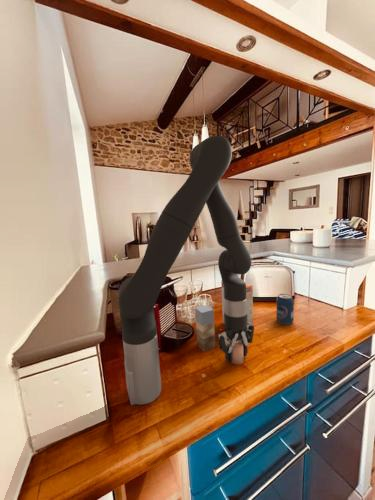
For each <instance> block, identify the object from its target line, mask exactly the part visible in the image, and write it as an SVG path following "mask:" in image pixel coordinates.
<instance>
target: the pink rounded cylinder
mask: <svg viewBox="0 0 375 500" xmlns="http://www.w3.org/2000/svg"><path fill="white" fill-rule="evenodd" d="M231 352H232V362H231V363H232V364H234V365H241V364H243V363H245V362H244V361H245V360H244V352H243V344H242V343H241V341H240V340H238V341H236V342H235V345H234V346H233V348H232V351H231Z"/></svg>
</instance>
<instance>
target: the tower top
mask: <svg viewBox="0 0 375 500" xmlns="http://www.w3.org/2000/svg"><path fill="white" fill-rule="evenodd" d="M194 310H195V322H196V321H197V322H198V323H199V324H201V325H202V326H204V325H208V324H211V323H214V324H215V312H214V311H215V309H214V308H213V307H211V306H209V305H208V304H205V305H201V306H197V307H195V309H194Z"/></svg>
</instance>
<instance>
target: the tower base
mask: <svg viewBox="0 0 375 500" xmlns="http://www.w3.org/2000/svg"><path fill="white" fill-rule="evenodd" d="M196 345H197V346H198V347H199V349H200V350H202V352H206V351H210V350H212V349H215V348H216V336H215V335H213V336H210V337H207V338H204V339H202V338H201V337H200V336H199V335H198V334H197V333H196Z"/></svg>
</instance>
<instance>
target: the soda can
mask: <svg viewBox="0 0 375 500" xmlns="http://www.w3.org/2000/svg"><path fill="white" fill-rule="evenodd" d="M294 306H295V301H294V299H293V296H292V295H291V294H288V293H279V294H278V295H277V297H276V320H277V321H278V323H279V324H282V325H291V324H292V323H294V318H295V317H294V312H295V311H294V310H295V309H294V308H295V307H294Z"/></svg>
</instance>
